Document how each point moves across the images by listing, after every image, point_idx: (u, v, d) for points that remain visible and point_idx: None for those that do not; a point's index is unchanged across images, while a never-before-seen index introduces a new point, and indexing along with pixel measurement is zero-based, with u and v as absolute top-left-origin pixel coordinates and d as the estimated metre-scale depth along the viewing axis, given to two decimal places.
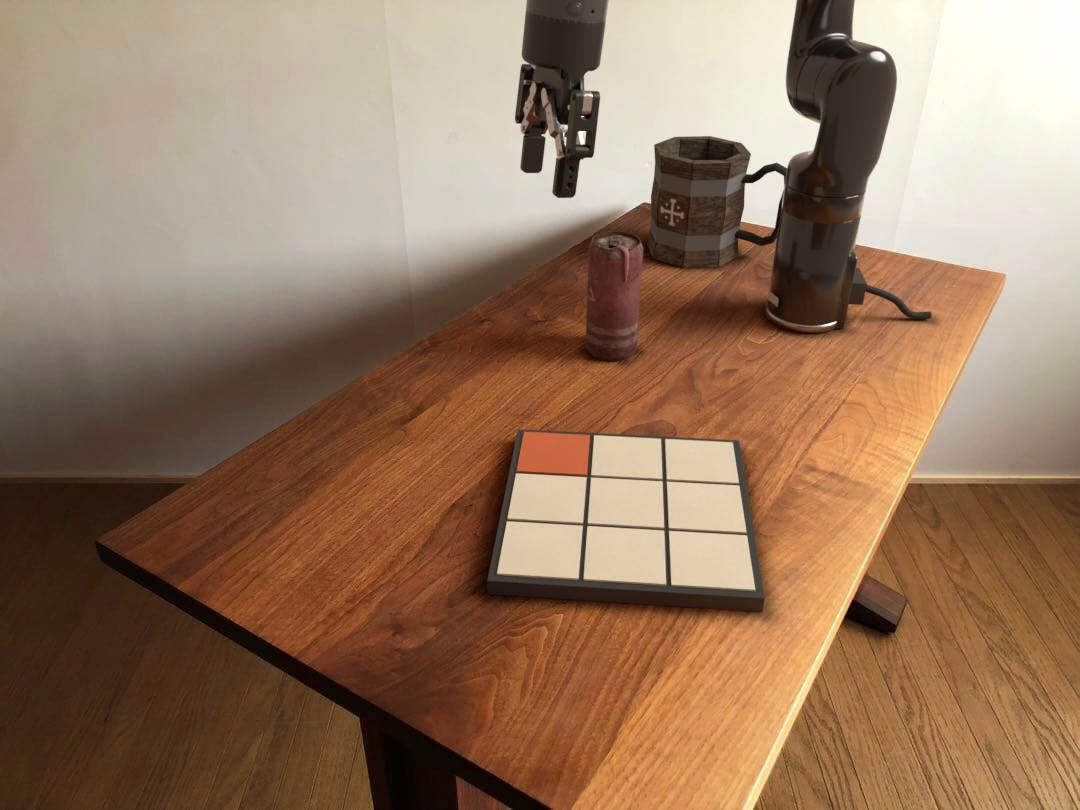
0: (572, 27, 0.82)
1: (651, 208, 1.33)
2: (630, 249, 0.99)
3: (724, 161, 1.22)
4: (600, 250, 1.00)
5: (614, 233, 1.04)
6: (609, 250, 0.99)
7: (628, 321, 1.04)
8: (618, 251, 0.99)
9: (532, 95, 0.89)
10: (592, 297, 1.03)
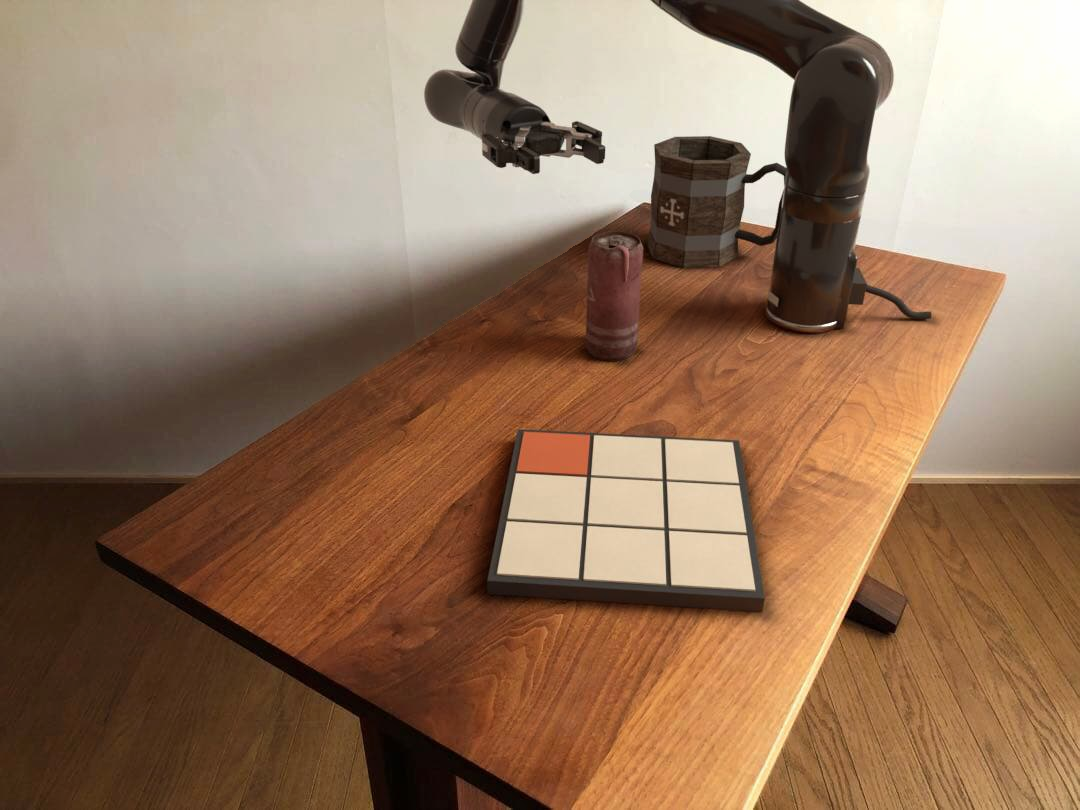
0: None
1: (651, 208, 1.33)
2: (630, 249, 0.99)
3: (724, 161, 1.22)
4: (600, 250, 1.00)
5: (614, 233, 1.04)
6: (609, 250, 0.99)
7: (628, 321, 1.04)
8: (618, 251, 0.99)
9: (547, 155, 1.14)
10: (592, 297, 1.03)
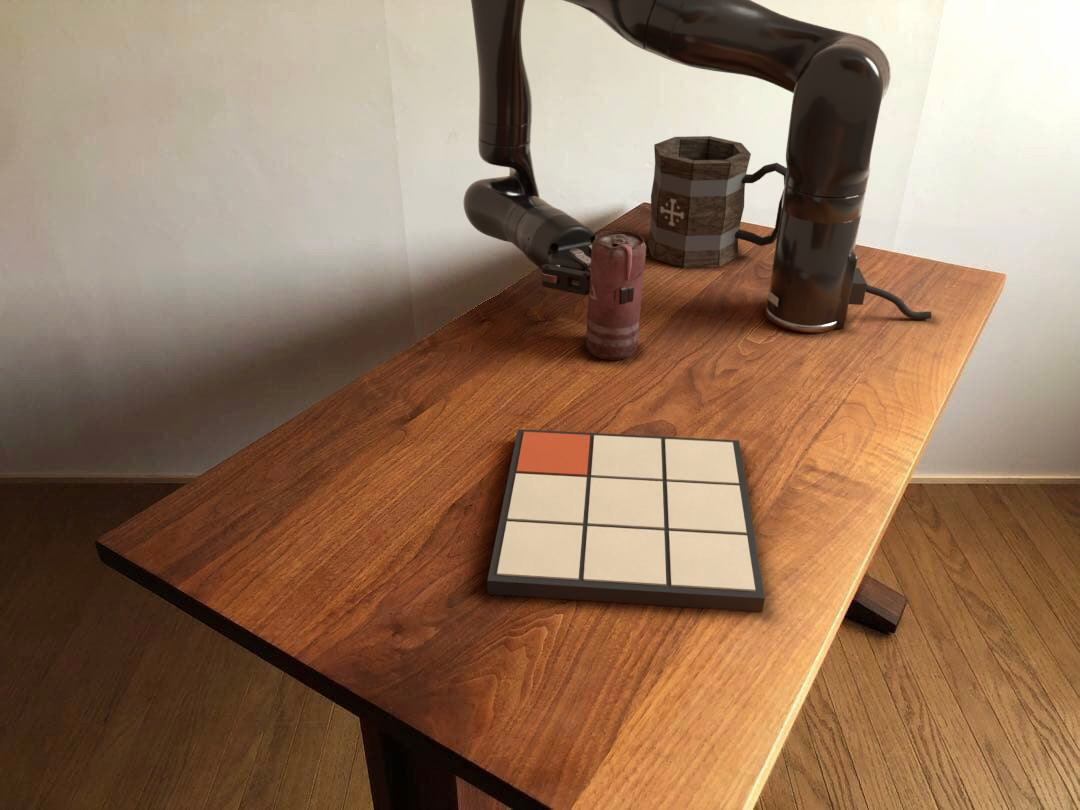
0: (533, 257, 1.13)
1: (651, 208, 1.33)
2: (633, 248, 1.00)
3: (724, 161, 1.22)
4: (603, 248, 1.00)
5: (617, 232, 1.04)
6: (612, 248, 0.99)
7: (629, 320, 1.04)
8: (621, 249, 0.99)
9: None
10: (594, 296, 1.03)
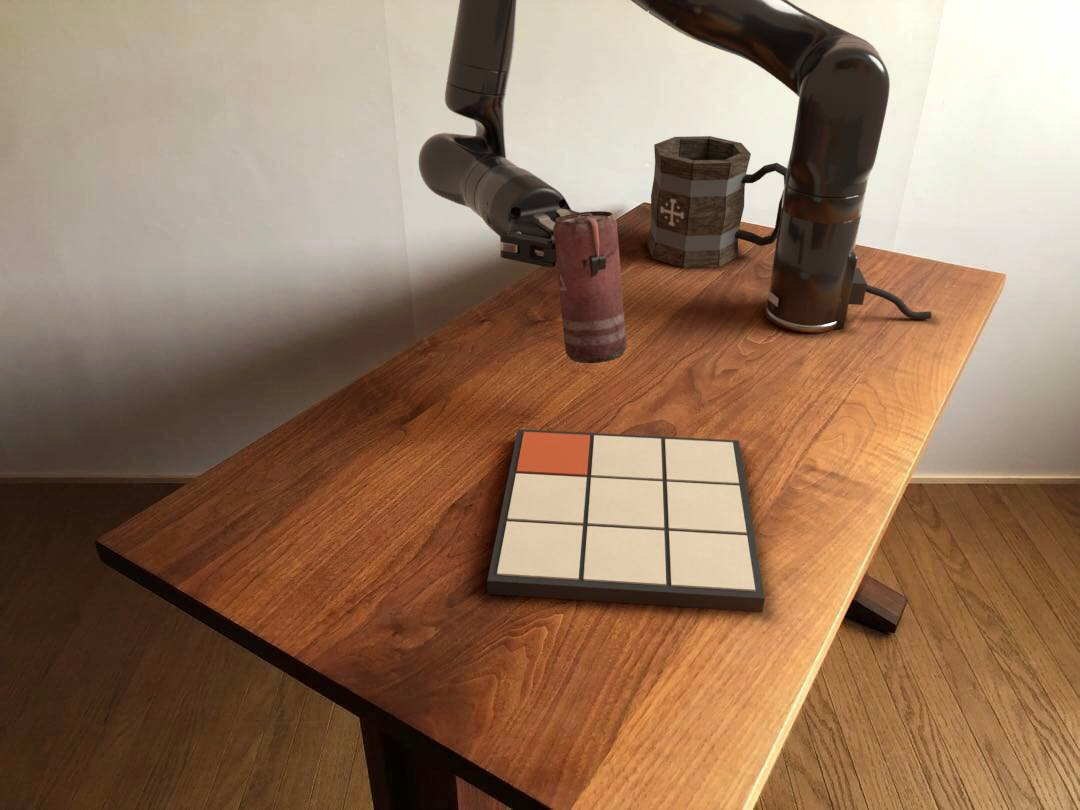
0: (493, 224, 0.97)
1: (651, 208, 1.33)
2: (599, 220, 0.85)
3: (724, 161, 1.22)
4: (564, 225, 0.85)
5: (583, 214, 0.90)
6: (574, 223, 0.85)
7: (608, 310, 0.88)
8: (584, 223, 0.85)
9: None
10: (563, 286, 0.88)
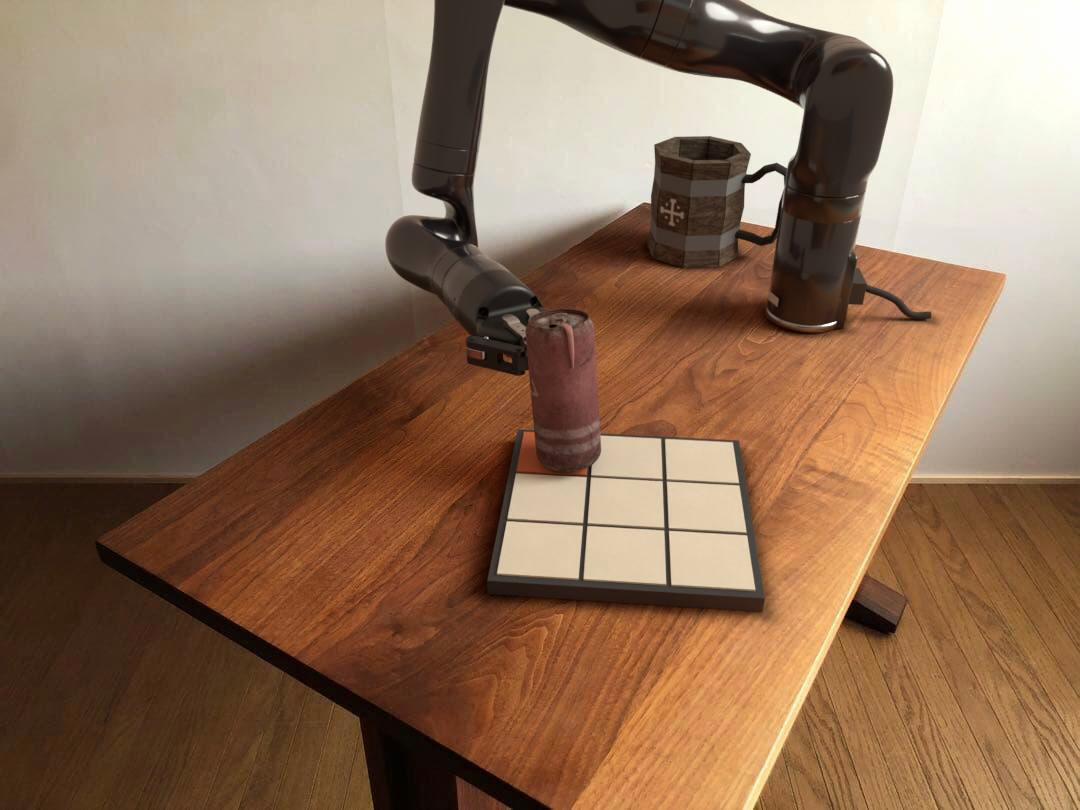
0: (460, 321, 0.92)
1: (651, 208, 1.33)
2: (574, 326, 0.79)
3: (724, 161, 1.22)
4: (537, 330, 0.79)
5: (558, 311, 0.83)
6: (548, 329, 0.79)
7: (582, 418, 0.82)
8: (559, 330, 0.78)
9: None
10: (535, 392, 0.82)
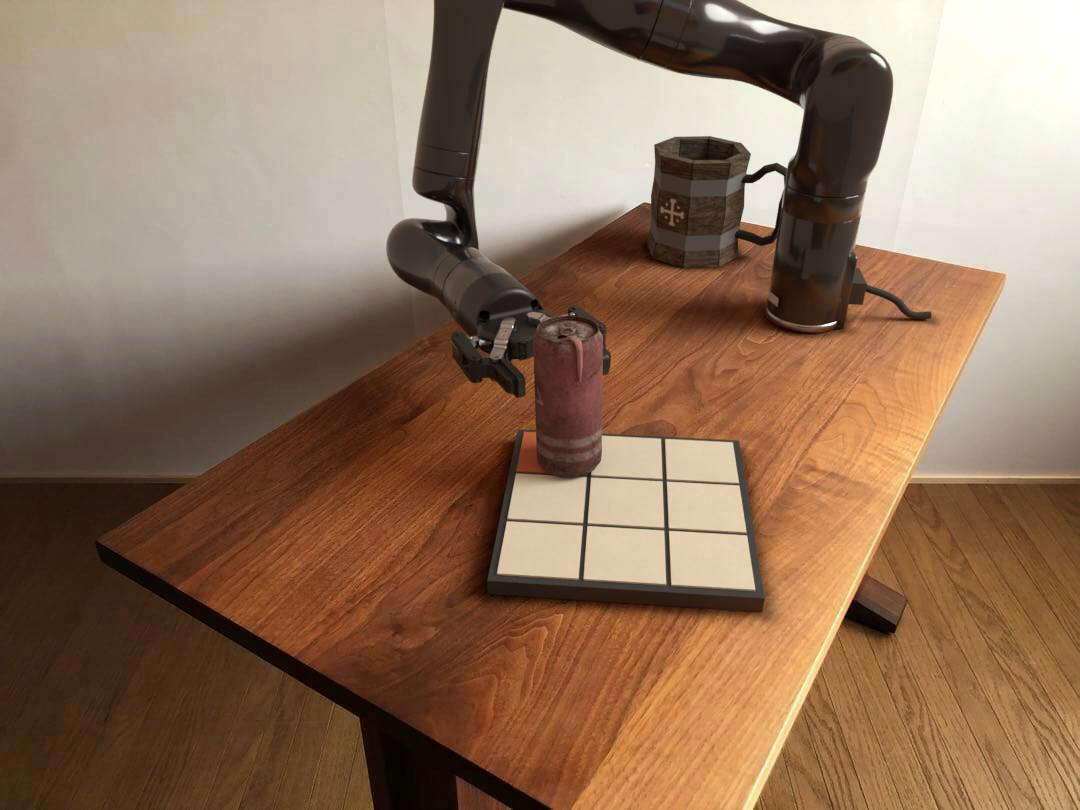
0: (461, 324, 0.92)
1: (651, 208, 1.33)
2: (584, 341, 0.78)
3: (724, 161, 1.22)
4: (546, 342, 0.78)
5: (566, 318, 0.82)
6: (557, 343, 0.77)
7: (586, 429, 0.82)
8: (568, 344, 0.77)
9: None
10: (540, 400, 0.81)
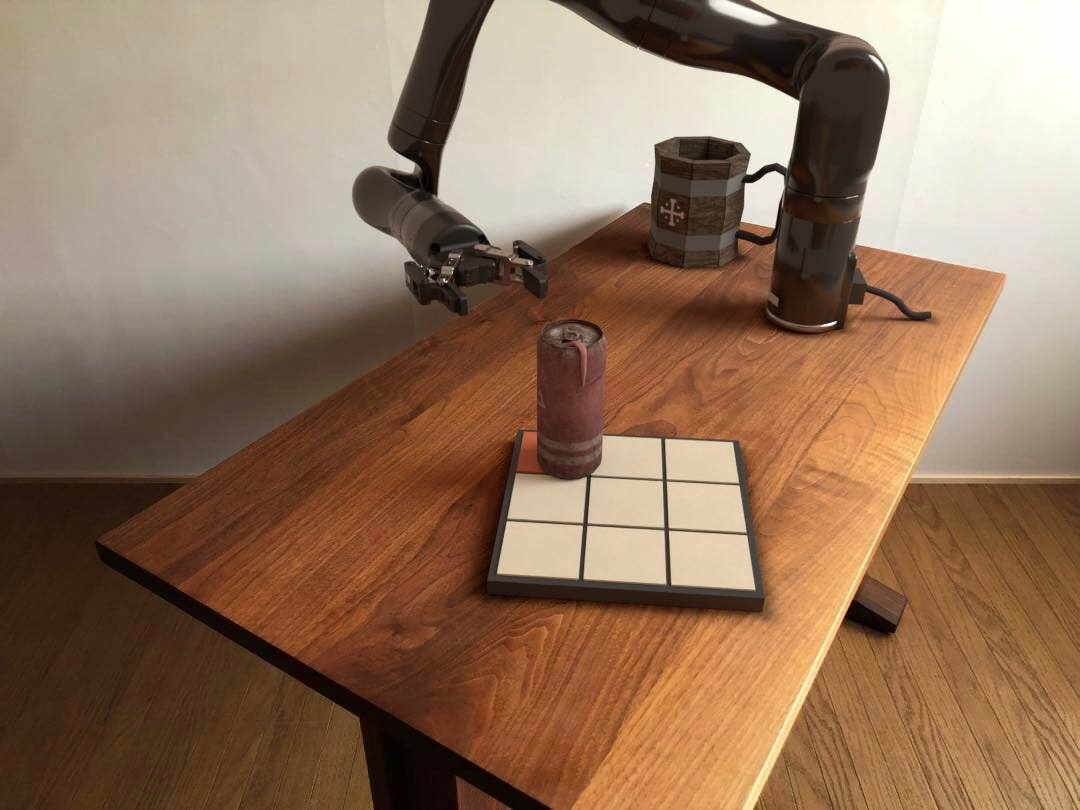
0: (416, 258, 1.01)
1: (651, 208, 1.33)
2: (588, 346, 0.77)
3: (724, 161, 1.22)
4: (550, 347, 0.78)
5: (571, 321, 0.81)
6: (561, 348, 0.77)
7: (587, 433, 0.81)
8: (573, 349, 0.77)
9: None
10: (542, 403, 0.81)
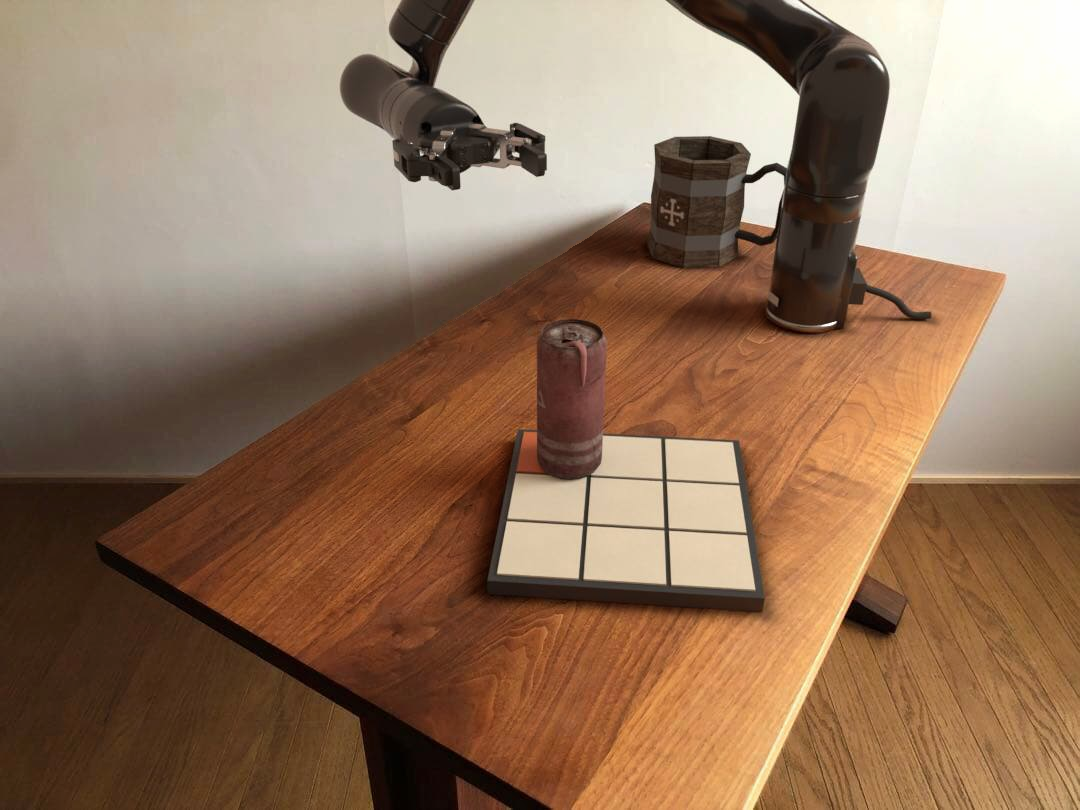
0: None
1: (651, 208, 1.33)
2: (588, 346, 0.77)
3: (724, 161, 1.22)
4: (550, 347, 0.78)
5: (571, 321, 0.81)
6: (561, 348, 0.77)
7: (587, 433, 0.81)
8: (573, 349, 0.77)
9: None
10: (542, 403, 0.81)
